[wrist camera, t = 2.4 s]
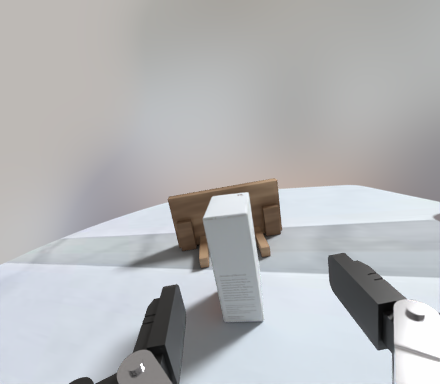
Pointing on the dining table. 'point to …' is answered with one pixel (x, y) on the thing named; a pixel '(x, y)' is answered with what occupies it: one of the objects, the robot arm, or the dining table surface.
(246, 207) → the skincare box
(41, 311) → the dining table surface
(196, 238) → the wooden stand
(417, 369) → the robot arm
